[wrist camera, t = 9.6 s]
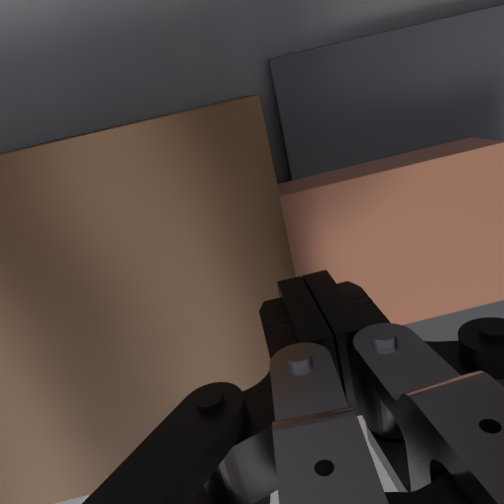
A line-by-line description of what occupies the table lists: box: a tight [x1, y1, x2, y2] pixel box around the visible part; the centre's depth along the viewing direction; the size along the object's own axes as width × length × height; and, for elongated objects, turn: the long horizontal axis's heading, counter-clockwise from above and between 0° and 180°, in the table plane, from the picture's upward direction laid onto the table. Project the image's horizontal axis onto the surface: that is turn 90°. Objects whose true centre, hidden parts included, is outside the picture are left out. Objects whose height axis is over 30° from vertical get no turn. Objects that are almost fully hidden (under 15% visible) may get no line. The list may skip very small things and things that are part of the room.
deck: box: [0, 95, 296, 504], centre depth 16 cm, size 14×12×4 cm
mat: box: [268, 5, 504, 341], centre depth 18 cm, size 16×14×1 cm
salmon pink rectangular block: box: [277, 137, 504, 325], centre depth 16 cm, size 8×6×2 cm
